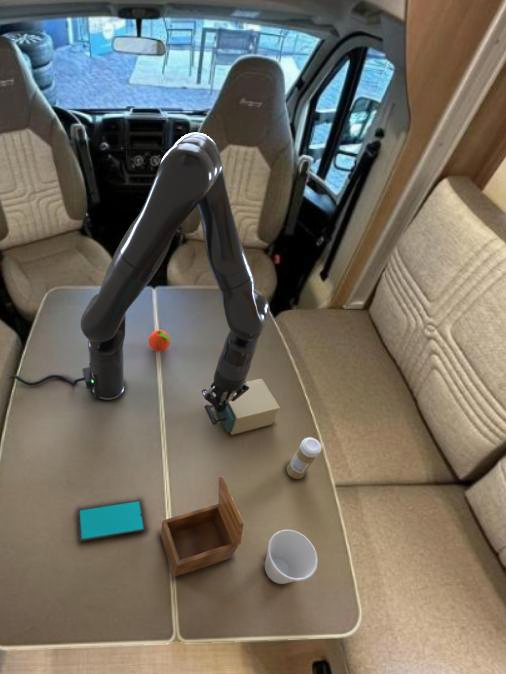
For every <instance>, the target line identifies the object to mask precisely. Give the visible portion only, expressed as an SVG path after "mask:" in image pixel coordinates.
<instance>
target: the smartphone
mask: <svg viewBox="0 0 506 674" xmlns="http://www.w3.org/2000/svg"><path fill="white" fill-rule="evenodd" d="M77 518H78V519H77V520H78V535H79V541H80V542H81V543H82V542H88V541H93V540H99V539H105V538H112V537H118V536H125V535H131V534H135V533H141V532H144V531H146V530H145V524H144V523H145V522H144V517H143V511H142V505H141V500H140V499H138V500H131V501H126V502H118V503H111V504H106V505H99V506H94V507H93V506H92V507H86V508H79V509H77Z"/></svg>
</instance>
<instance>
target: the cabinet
mask: <svg viewBox="0 0 506 674" xmlns="http://www.w3.org/2000/svg"><path fill="white" fill-rule="evenodd" d="M246 383H247V385H248V386H249V390H247V391H246V392H245V393H244V394H242V395H241V396H240V397H239V398H237V399H236V400H235V401H229V403H228V405H229V406H230V408H231V410H232V412H233V414H234V416H235V422H234V425H233V428H232V431H231V432H229V433H230V435H232V436H234V435H236V434H240V433H244V432H249V431H252V430H256V429H260V428H263V427H267V426H270V425H273V423H274V421H275V419H276V418H277V415H278V413H279V411H280V409H281V408H280V406H279V403H278V402H277V400H276V399H275V397H274V396H273V395H272V392H271V391H270V389H269V388H268V386H267V385H266V383H265V382H264V380H263V378H258V379H253V380H248V381H246ZM236 394H237V393H235V394H234V396H235V395H236Z"/></svg>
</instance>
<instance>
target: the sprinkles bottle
mask: <svg viewBox="0 0 506 674" xmlns="http://www.w3.org/2000/svg"><path fill="white" fill-rule="evenodd" d="M322 450H323V449H322V444H321V442H320V441H319V440H318V439H316V438H315V437H305V438H304V439H303V440H302V441H301V443H300V445H299V448H298V449H297V451H296V452H295V454H294V455H293V457H292V458H291V460H290V462H289V464H288V465H287V467H286V471H287V472H286V473H287V474H288V475H289V476H290V477H291V478H293V479H296V480H299V479H302V478H304V476H305V474H306V472H307V471H308V470H309V469H310V467H311V466H312V464H313V462H314V461H315V459H316V458H317V457H318V456H319V455H320V454H321V452H322Z"/></svg>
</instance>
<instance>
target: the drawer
mask: <svg viewBox="0 0 506 674" xmlns="http://www.w3.org/2000/svg"><path fill="white" fill-rule="evenodd" d="M212 408H215V407H214V406H213V405H212V404H205V405H204V410H205V412H206V414H207V415H208V418H209V420H210V422H211V424H212V425H213V426H216V425H217V424H218V423H222V424H223V427H224V429H225V431H226V432H227V433H230V432H231V431H232V428H233V425H234V422H235V416H234V414H233V412H232V410H231V408H230V406H229V405H228V404H227V406H226V408H225V409H224V411H223V412H219V413H218V412H217V411H216V412H217V415H218V417H219V418H218V419H217V418H216V416H215V414H214V412H213V410H212Z"/></svg>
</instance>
